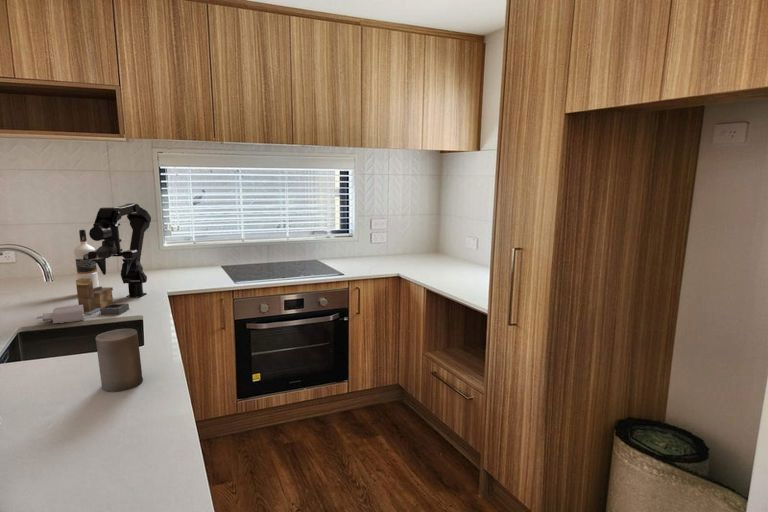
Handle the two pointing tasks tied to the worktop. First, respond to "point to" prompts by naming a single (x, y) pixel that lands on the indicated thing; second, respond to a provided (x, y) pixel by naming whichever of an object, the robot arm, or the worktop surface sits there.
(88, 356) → the worktop surface
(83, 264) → the vodka
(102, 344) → the pillar candle
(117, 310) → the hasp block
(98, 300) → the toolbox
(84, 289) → the brown rectangular block
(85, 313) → the rubber mat
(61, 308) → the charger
